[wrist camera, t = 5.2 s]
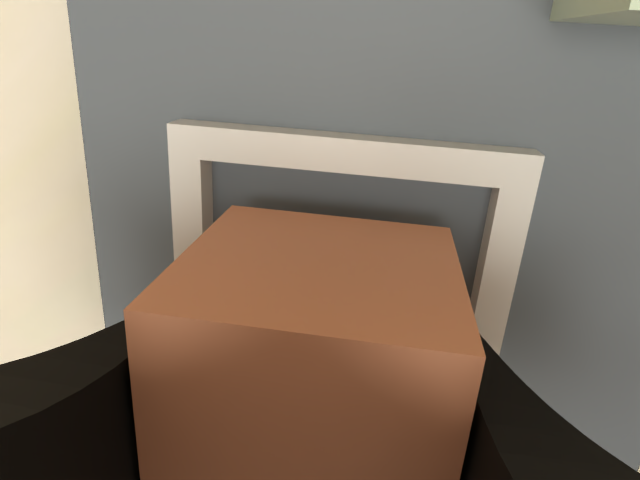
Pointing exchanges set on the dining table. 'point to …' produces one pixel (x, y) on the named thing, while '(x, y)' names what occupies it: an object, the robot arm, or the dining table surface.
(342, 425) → the block
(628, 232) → the board
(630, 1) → the block
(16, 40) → the dining table surface
